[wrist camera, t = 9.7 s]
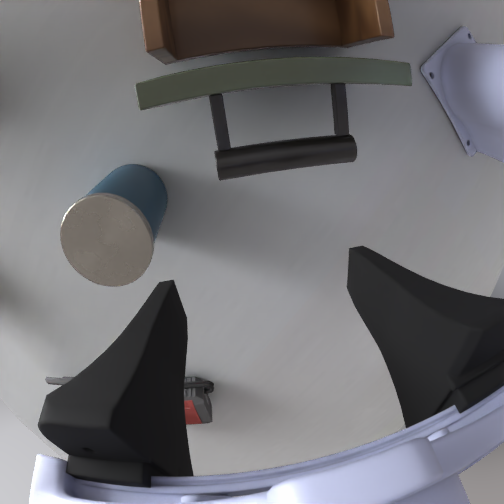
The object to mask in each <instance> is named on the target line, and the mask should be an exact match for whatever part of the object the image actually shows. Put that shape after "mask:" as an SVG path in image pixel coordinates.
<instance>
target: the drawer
mask: <svg viewBox="0 0 504 504" xmlns="http://www.w3.org/2000/svg"><path fill="white" fill-rule="evenodd" d="M139 5H140V14H141V21H142V29H143V36H144V43H145V50H146V52H147V53H149V54H150V55H152V56H153V57H155V58H156V59H158V60H159V61H161V62H162V63H164V64H165V65H167V64H171V63H176V62H180V61H185V60H190V59H195V58H200V57H206V56H212V55H218V54H224V53H232V52H240V51H248V50H259V49H271V48H289V47H340V48H349V47H353V46H357V45H362V44H366V43H370V42H375V41H380V40H385V39H390V38H394V30H393V24H392V18H391V13H390V8H389V3H388V0H139ZM313 84H330V85H331V95H332V106H333V118H334V131H335V134H336V135H331V136H319V137H308V138H299V139H290V140H282V141H274V142H266V143H259V144H252V145H246V146H240V147H234V148H231V146H230V140H229V134H228V127H227V121H226V115H225V109H224V103H223V96H222V94H224V93H231V92H237V91H245V90H252V89H261V88H271V87H281V86H295V85H313ZM345 84H382V85H402V86H412V78H411V67H410V64H409V63H405V62H398V61H389V60H379V59H367V58H350V57H292V58H275V59H263V60H252V61H244V62H236V63H228V64H222V65H215V66H209V67H204V68H198V69H193V70H188V71H183V72H179V73H174V74H170V75H166V76H162V77H158V78H154V79H150V80H146V81H143V82H139V83H136V84H135V91H136V97H137V102H138V107H139V110H146V109H150V108H155V107H160V106H165V105H169V104H173V103H177V102H182V101H187V100H191V99H196V98H201V97H207V96H209V99H210V105H211V111H212V117H213V123H214V129H215V135H216V140H217V146H218V150H217V151H214V154H215V160H216V166H217V172H218V177H219V180H220V181H221V180H226V179H232V178H238V177H244V176H250V175H256V174H262V173H268V172H275V171H282V170H289V169H296V168H304V167H312V166H320V165H329V164H338V163H348V162H354V161H355V160H356V157H357V146H356V142H355V140H354V138H353V136H352V135H350V134H349V125H348V110H347V98H346V87H345Z"/></svg>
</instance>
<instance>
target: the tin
mask: <svg viewBox="0 0 504 504" xmlns="http://www.w3.org/2000/svg"><path fill="white" fill-rule="evenodd" d="M166 207H167V191H166V188H165V185H164V183H163V182H162V180H161V179H160V177H159V176H158V175H157V174H156V173H155V172H154V171H152V170H151V169H149V168H147V167H145V166H141V165H136V164H129V165H124V166H121V167H118V168H117V169H115V170H114V171H112V172H111V173H110V174H109V175H108V176H106V177H105V178H104V179H103V180H102V181H101V182H100V183H99V184H98V185H96V186H95V187H94V188H93V189H92V190H91V191H90V192H89V193H88V194H87V195H86V196H84V197H82V198H81V199H79V200H78V201H77V202H76V203H75V204H73V205H72V206H71V207H70V209H69V210H68V211H67V213H66V214H65V216H64V219H63V221H62V225H61V233H60V235H61V244H62V248H63V251H64V253H65V256H66V257H67V259H68V261H69V262H70V264H71V265H72V266H73V268H74V269H75V270H76V271H77V272H78V273H79V274H81V275H82V276H83V277H85V278H86V279H88V280H90V281H92V282H94V283H97V284H100V285H104V286H123V285H126V284H129V283H131V282H133V281H135V280H137V279H138V278H139V277H141V276H142V275H143V274H144V272H145V271H146V270H147V268H148V266H149V264H150V262H151V259H152V255H153V251H154V243H155V240H156V237H157V234H158V231H159V228H160V225H161V222H162V219H163V216H164V213H165V210H166Z"/></svg>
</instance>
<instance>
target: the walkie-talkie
mask: <svg viewBox="0 0 504 504" xmlns="http://www.w3.org/2000/svg"><path fill="white" fill-rule="evenodd" d="M73 378H74V377H63V378H52V377H46V382H47V383H48V384H54V385H64V384H66V383H67V382H68V381H70V380H71V379H73ZM213 386H214V384H213V383H212V382H210V381H203V380H201V379H199V378H196V377H189V378H185V379H184V404H185V418H186V425H187V424H204V423H210V422H212V407H211V402H210V399H209V396H208V393H211V392H213V390H214V387H213Z"/></svg>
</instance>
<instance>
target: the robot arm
mask: <svg viewBox="0 0 504 504" xmlns="http://www.w3.org/2000/svg"><path fill="white" fill-rule="evenodd" d="M421 72H422V74H423V75H424V77H425V78H426V80H427V81H428V83H429V85H430V86H431V88H432V89H433V91H434V93H435V94H436V96H437V97H438V99H439V101H440V103H441V104H442V106H443V108H444V109H445V111H446V113H447V115H448V117H449V118H450V120H451V122H452V124H453V126H454V128H455V130H456V132H457V134H458V136H459V138H460V140H461V142H462V144H463V146H464V148H465V150H466V153H467V154H468V155H469V156H471V157H472V156H474V155H475V153H476V152H477V151H478V152H480V153H483V154H485V155H488V156H490V157H492V158H494V159H497V160H499V161H501V162H503V163H504V45H503V44H483V43H476V41H475V39H474V38H473V36H472V34H471V33H470V31H469V29H468V28H467V27H466V26H461V27H460V28H459V29H458V30H457V31H456V32H455V33H454V34H453V35H452V36H451V37H450V38H449V39H448V40H447V41H446V42H445V43H444V44H443V45H442V46H441V47H440V48H439V49H438V50H437V51H436V52H435V53H434V54H433V55H432V56H431V57H430V58H429V59H428V60H427V61H426V62H425V63H424V64H423V65H422V66H421ZM429 74H431V78H430V76H429ZM347 289H348V291H349V294H350V296H351V299H352V301H353V303H354V305H355V307H356V309H357V311H358V313H359V314H360V316H361V318H362V319H363V321H364V323H365V324H366V326H367V328H368V329H369V331H370V333H371V335H372V336H373V338H374V340H375V341H376V343H377V345H378V347H379V349H380V351H381V353H382V355H383V357H384V360H385V362H386V365H387V367H388V370H389V372H390V375H391V378H392V380H393V383H394V386H395V389H396V392H397V395H398V399H399V402H400V405H401V409H402V413H403V417H404V421H405V425H406V429H404V430H401V431H399V432H396V433H394V434H391V435H389V436H386V437H384V438H381V439H378V440H376V441H373V442H370V443H367V444H364V445H362V446H359V447H355V448H352V449H349V450H346V451H343V452H339V453H336V454H332V455H329V456H325V457H321V458H317V459H313V460H309V461H305V462H300V463H296V464H291V465H286V466H281V467H276V468H270V469H264V470H257V471H250V472H242V473H233V474H222V475H209V476H193V470H192V465H191V459H190V453H189V446H188V438H187V429H186V418H185V404H184V379H185V366H186V354H187V341H188V333H187V317H186V314H185V311H184V308H183V306H182V303H181V300H180V297H179V294H178V291H177V288H176V285H175V282H174V280H170V281H164V282H159V283H158V285H157V286H156V287H155V289H154V290H153V292H152V293H151V295H150V296H149V297H148V299H147V300H146V302H145V303H144V305H143V306H142V307H141V309H140V310H139V312H138V313H137V314H136V316H135V317H134V318H133V320H132V321H131V322H130V323H129V325H128V326H127V327H126V328H125V330H124V331H123V332H122V333H121V335H120V336H119V337H118V338H117V339H116V340H115V341H114V342H113V343H112V344H111V346H110V347H109V348H108V349H107V350H106V351H105V352H104V353H103V354H101V355H100V356H99V357H98V358H97V359H96V360H95V361H94V362H93V363H92V364H91V365H89V366H88V367H87V368H86V369H84V370H83V371H82V372H81V373H79V374H78V375H77V376H75V377H74V378H73V379H71V380H70V381H68V382H67V383H66V384H64V385H62V386H61V387H59V388H58V389H56V390H54V391H53V392H51V393H49V394H48V395H47V396H46V399H45V402H44V405H43V408H42V412H41V415H40V419H39V422H38V427H39V430H40V431H41V433H42V434H43V435H44V436H45V437H46V438H47V439H48V440H50V441H51V442H52V443H53V444H55V445H56V446H57V447H59V448H60V449H62V450H63V451H64V452H66V453H67V454H69V456H68V462H67V461H65V460H63V459H59V458H56V457H51V456H46V455H42V454H38V455H37V458H36V463H35V468H34V473H33V479H32V485H31V492H30V500H29V504H470V502H469V499H468V497H467V494H466V492H465V490H464V487H463V485H462V483H461V480H460V478H459V476H458V474H460V473H461V472H463V471H464V470H466V469H468V468H469V467H471V466H472V465H473V464H475V463H476V462H478V461H479V460H481V459H482V458H484V457H485V456H486V455H488V454H489V453H490V452H492V451H493V450H494V449H496V448H497V447H498V446H500V445H501V444H502V443H503V442H504V299H500V298H492V297H486V296H481V295H476V294H472V293H468V292H464V291H460V290H457V289H454V288H451V287H448V286H445V285H442V284H439V283H437V282H434V281H432V280H429V279H427V278H425V277H423V276H420V275H418V274H416V273H414V272H412V271H410V270H408V269H406V268H404V267H402V266H400V265H398V264H397V263H395V262H393V261H391V260H389V259H387V258H386V257H384V256H382V255H380V254H378V253H376V252H375V251H373V250H371V249H369V248H367V247H364V246H358V247H353V248H349V265H348V280H347ZM243 495H245V496H243ZM233 496H239V497H233Z"/></svg>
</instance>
